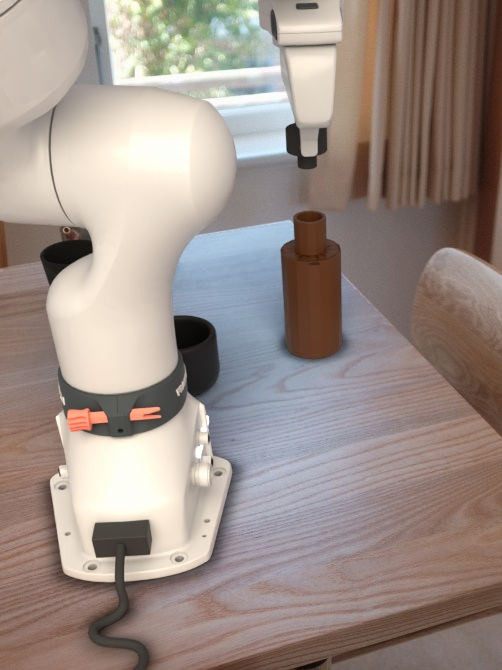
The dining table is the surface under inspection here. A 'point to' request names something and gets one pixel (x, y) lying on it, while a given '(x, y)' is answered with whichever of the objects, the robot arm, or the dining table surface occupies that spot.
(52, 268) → the cup
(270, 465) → the dining table surface
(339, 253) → the bottle
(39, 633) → the dining table surface
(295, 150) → the cylinder
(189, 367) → the mug
